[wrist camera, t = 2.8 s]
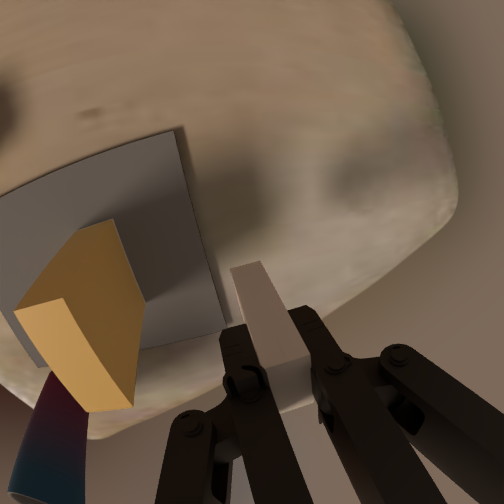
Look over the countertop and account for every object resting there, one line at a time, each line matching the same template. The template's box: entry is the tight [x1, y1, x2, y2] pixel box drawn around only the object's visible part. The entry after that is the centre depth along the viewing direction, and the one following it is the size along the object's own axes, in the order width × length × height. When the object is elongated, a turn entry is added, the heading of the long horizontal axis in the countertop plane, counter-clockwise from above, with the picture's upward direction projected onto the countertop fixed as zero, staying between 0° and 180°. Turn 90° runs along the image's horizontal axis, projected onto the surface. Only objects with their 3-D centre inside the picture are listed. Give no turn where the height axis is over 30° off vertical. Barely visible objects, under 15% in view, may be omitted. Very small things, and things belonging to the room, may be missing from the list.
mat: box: [0, 131, 227, 368], centre depth 20 cm, size 16×20×1 cm
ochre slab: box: [13, 219, 146, 412], centre depth 16 cm, size 7×3×10 cm, turn 11°
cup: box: [7, 371, 89, 504], centre depth 18 cm, size 7×7×15 cm
